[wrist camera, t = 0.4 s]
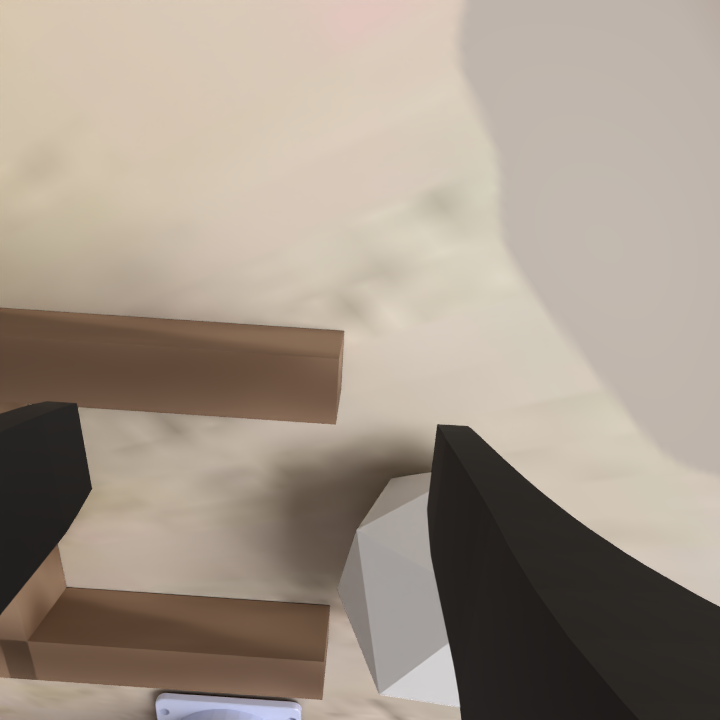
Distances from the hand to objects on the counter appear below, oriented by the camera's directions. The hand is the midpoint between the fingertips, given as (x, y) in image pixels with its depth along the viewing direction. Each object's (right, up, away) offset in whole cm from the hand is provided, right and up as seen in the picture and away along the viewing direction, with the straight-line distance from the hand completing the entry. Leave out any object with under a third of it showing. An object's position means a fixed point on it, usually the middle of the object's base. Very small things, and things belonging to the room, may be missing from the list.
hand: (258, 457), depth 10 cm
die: (+6, -5, +13) cm, 15 cm away
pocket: (-6, -4, +13) cm, 15 cm away
